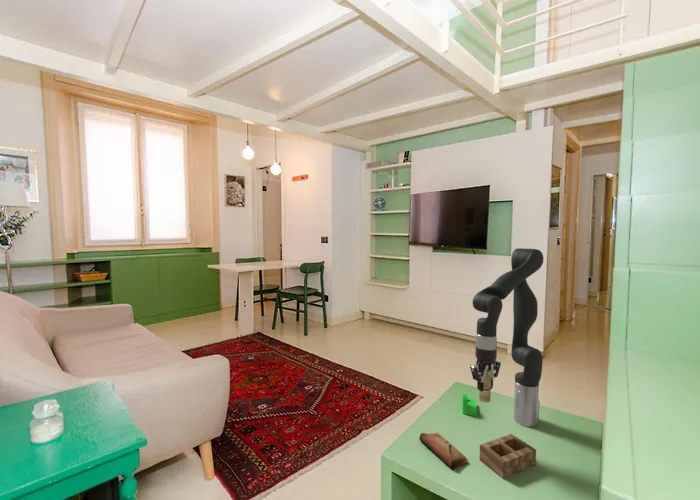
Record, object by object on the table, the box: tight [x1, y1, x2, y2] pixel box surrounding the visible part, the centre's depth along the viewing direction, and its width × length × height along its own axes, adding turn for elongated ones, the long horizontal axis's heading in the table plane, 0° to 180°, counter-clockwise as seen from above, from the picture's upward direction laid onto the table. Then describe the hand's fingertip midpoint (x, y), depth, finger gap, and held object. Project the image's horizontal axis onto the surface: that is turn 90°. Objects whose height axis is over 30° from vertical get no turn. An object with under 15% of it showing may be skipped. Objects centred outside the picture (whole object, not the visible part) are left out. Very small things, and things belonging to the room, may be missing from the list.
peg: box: [478, 370, 492, 403], centre depth 127 cm, size 4×4×12 cm
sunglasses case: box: [418, 432, 469, 470], centre depth 122 cm, size 18×7×7 cm
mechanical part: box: [461, 393, 478, 417], centre depth 153 cm, size 12×6×8 cm, turn 163°
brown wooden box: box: [479, 433, 537, 480], centre depth 117 cm, size 16×10×6 cm, turn 114°
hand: (485, 389), depth 127 cm, fingers closed on peg, 4 cm apart
